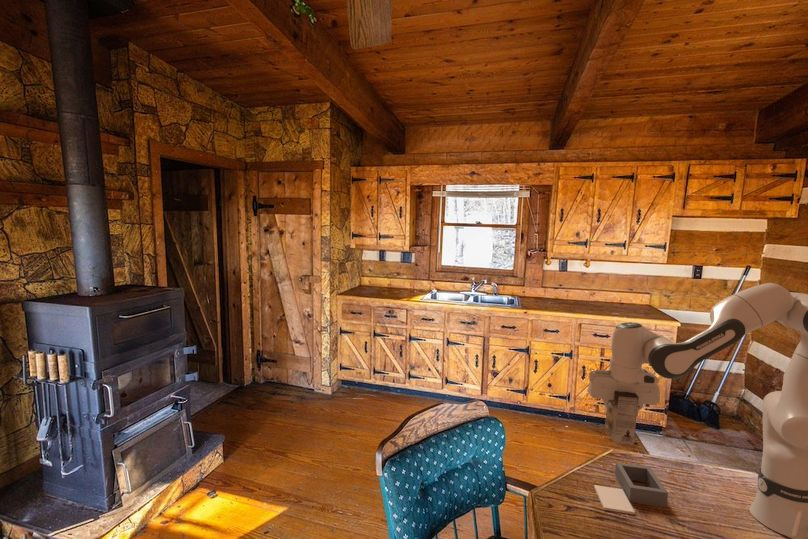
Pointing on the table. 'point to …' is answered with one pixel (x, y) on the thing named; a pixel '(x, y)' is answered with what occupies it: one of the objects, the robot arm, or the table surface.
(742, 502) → the table surface
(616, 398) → the coffee box
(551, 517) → the table surface
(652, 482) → the rectangular frame
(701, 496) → the table surface
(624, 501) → the mat
